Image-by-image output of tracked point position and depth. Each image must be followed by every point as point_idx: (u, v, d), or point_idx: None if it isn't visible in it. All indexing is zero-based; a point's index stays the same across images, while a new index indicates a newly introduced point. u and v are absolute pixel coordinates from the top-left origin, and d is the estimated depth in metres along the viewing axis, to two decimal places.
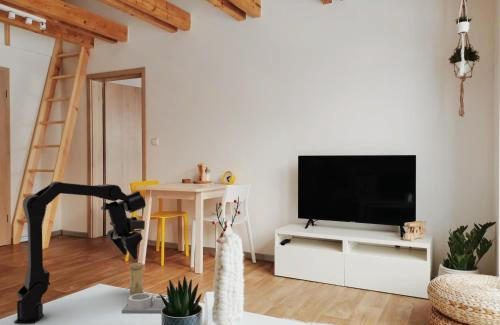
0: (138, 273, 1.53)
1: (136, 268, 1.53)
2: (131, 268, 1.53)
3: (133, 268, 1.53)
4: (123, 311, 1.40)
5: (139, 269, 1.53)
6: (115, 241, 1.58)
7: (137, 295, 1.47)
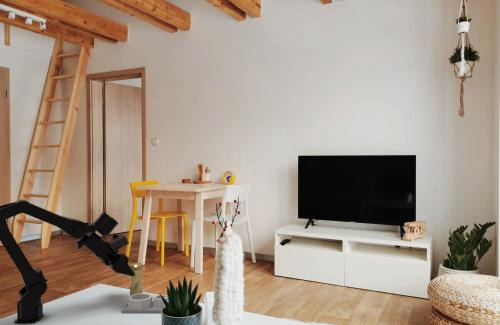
0: (138, 273, 1.53)
1: (136, 268, 1.53)
2: (131, 268, 1.53)
3: (133, 268, 1.53)
4: (123, 311, 1.40)
5: (139, 269, 1.53)
6: (109, 263, 1.54)
7: (137, 295, 1.47)
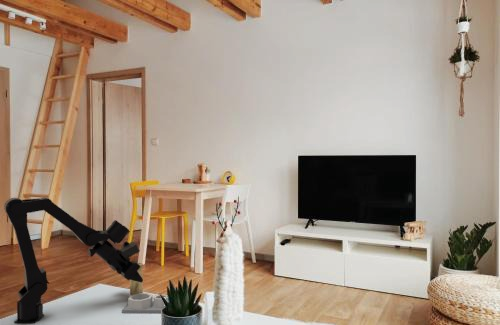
0: None
1: None
2: None
3: None
4: (123, 311, 1.40)
5: (139, 269, 1.53)
6: None
7: (137, 295, 1.47)
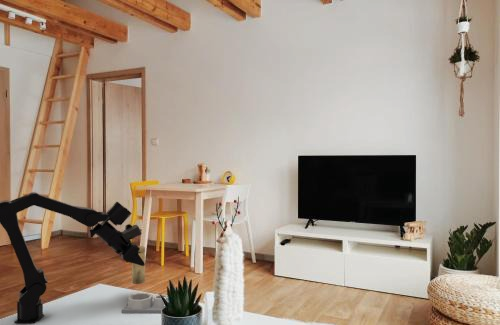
0: (140, 256, 1.50)
1: (138, 251, 1.49)
2: None
3: None
4: (123, 311, 1.40)
5: (141, 252, 1.50)
6: None
7: (137, 295, 1.47)
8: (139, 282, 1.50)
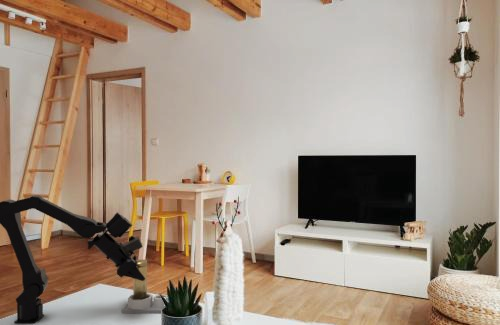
0: (140, 271, 1.42)
1: (138, 265, 1.42)
2: None
3: None
4: (123, 311, 1.40)
5: (141, 266, 1.42)
6: None
7: None
8: (139, 298, 1.42)
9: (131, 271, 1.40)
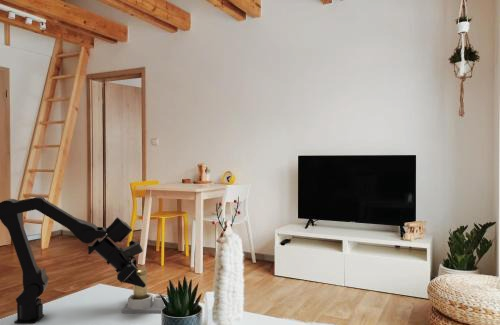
0: None
1: (138, 273, 1.42)
2: None
3: None
4: (123, 311, 1.40)
5: (141, 275, 1.42)
6: None
7: None
8: None
9: (131, 277, 1.38)
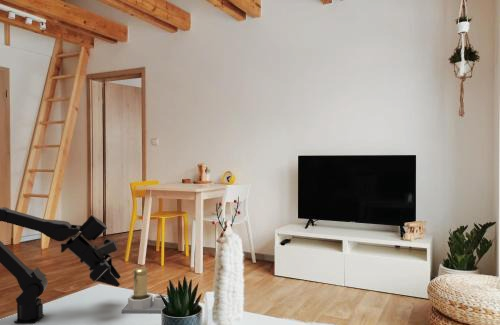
0: (140, 279, 1.42)
1: (138, 273, 1.42)
2: (134, 273, 1.43)
3: (135, 273, 1.42)
4: (123, 311, 1.40)
5: (141, 275, 1.42)
6: None
7: None
8: None
9: (105, 276, 1.36)
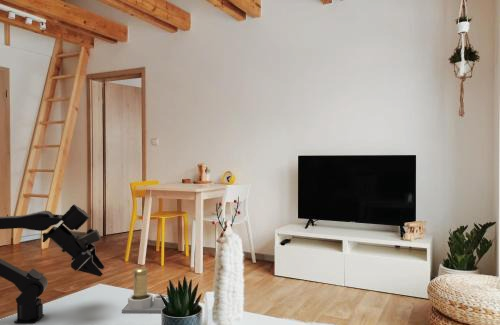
0: (140, 279, 1.42)
1: (138, 273, 1.42)
2: (134, 273, 1.43)
3: (135, 273, 1.42)
4: (123, 311, 1.40)
5: (141, 274, 1.42)
6: None
7: None
8: None
9: (87, 266, 1.34)
